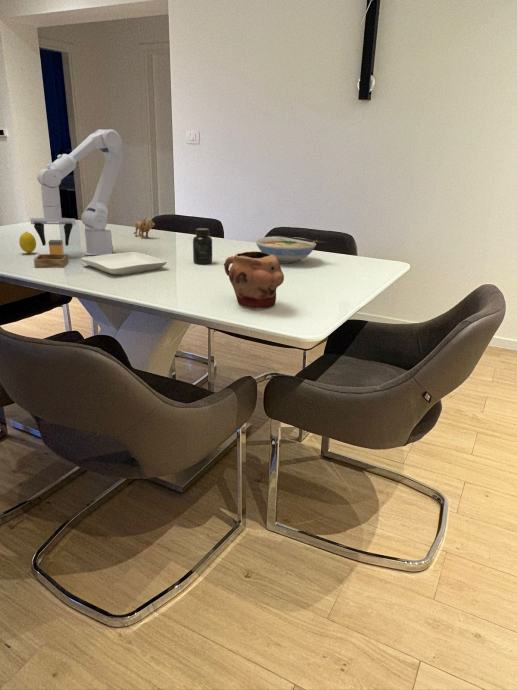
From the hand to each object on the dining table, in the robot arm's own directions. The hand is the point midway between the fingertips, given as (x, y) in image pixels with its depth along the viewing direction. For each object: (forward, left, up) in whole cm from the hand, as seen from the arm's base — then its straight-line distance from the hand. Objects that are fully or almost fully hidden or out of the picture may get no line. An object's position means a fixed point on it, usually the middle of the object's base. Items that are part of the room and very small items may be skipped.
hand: (55, 245), depth 182 cm
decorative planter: (-59, +62, -5) cm, 86 cm away
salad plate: (-24, +17, -5) cm, 30 cm away
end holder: (0, +11, -4) cm, 12 cm away
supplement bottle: (-51, +10, -5) cm, 52 cm away
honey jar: (0, 0, -5) cm, 5 cm away
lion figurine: (-30, -44, -5) cm, 53 cm away
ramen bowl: (-82, +8, -5) cm, 83 cm away
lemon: (+11, -7, -5) cm, 14 cm away
